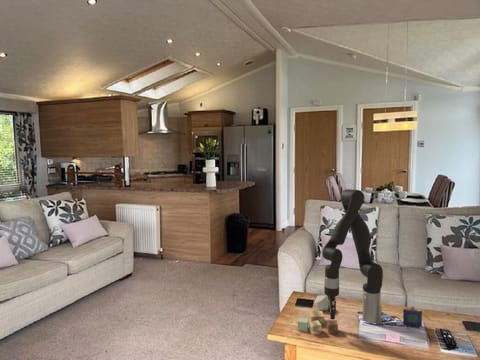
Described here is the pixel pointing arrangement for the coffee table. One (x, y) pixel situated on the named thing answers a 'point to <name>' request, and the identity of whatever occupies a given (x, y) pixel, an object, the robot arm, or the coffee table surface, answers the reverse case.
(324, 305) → the die
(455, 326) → the coffee table surface
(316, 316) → the oak base
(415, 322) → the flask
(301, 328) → the sage block
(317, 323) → the beech block
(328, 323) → the walnut block
